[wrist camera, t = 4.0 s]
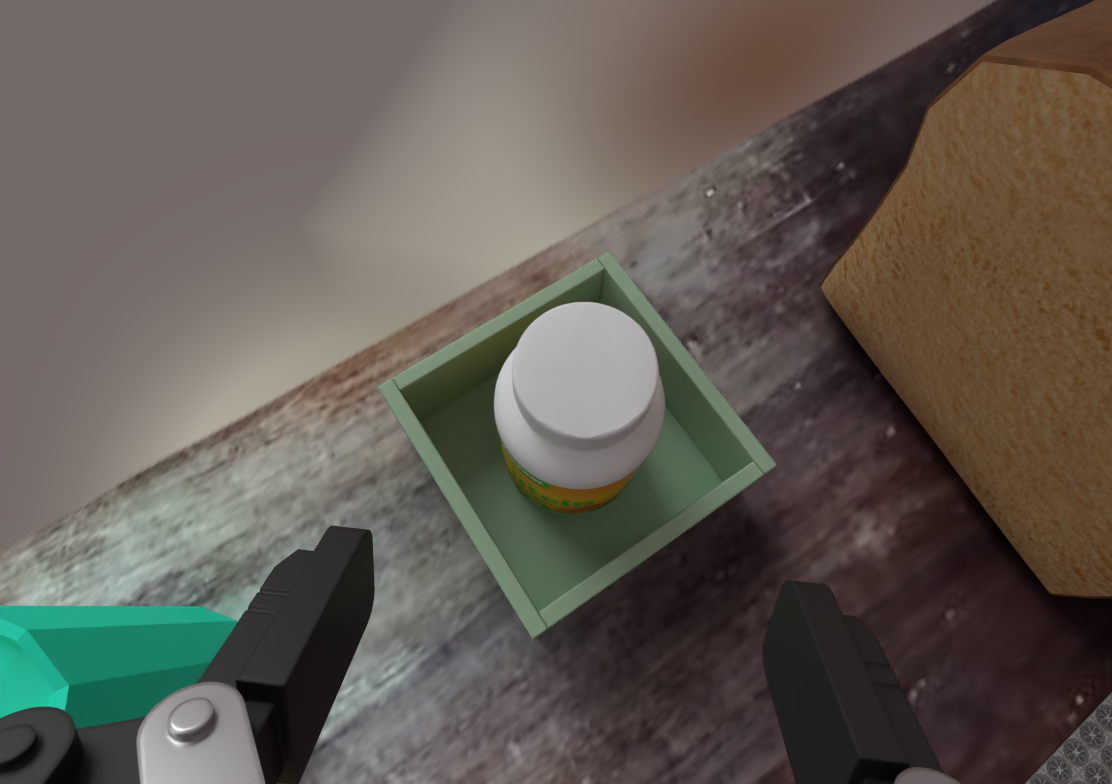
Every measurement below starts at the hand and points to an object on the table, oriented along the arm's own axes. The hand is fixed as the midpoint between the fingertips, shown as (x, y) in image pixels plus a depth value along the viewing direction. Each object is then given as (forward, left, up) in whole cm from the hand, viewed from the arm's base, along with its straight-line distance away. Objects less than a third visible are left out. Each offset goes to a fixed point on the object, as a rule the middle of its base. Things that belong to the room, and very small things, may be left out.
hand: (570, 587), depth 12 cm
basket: (-3, +5, -13) cm, 14 cm away
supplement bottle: (-3, +5, -13) cm, 14 cm away
